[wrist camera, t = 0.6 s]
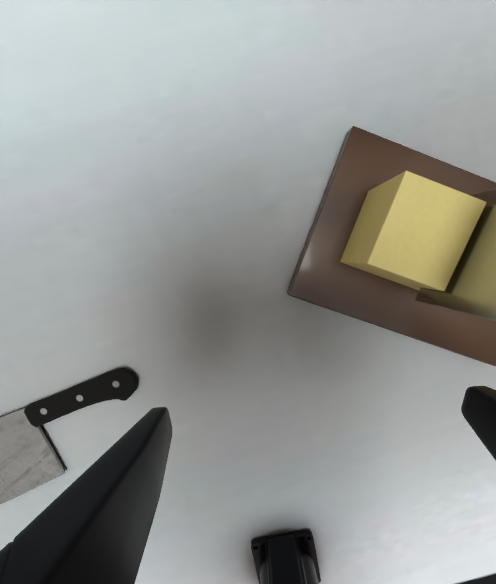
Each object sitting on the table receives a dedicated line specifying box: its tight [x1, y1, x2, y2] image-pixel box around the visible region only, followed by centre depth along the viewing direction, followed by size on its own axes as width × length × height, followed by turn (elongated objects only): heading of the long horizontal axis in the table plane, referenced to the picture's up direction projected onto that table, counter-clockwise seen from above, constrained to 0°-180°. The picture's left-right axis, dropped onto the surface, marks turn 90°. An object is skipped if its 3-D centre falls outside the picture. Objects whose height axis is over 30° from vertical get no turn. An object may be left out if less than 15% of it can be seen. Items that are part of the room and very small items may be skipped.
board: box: [287, 126, 496, 366], centre depth 20 cm, size 14×20×1 cm
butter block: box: [340, 171, 487, 291], centre depth 17 cm, size 6×9×4 cm, turn 71°
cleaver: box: [0, 368, 138, 504], centre depth 23 cm, size 29×1×10 cm
